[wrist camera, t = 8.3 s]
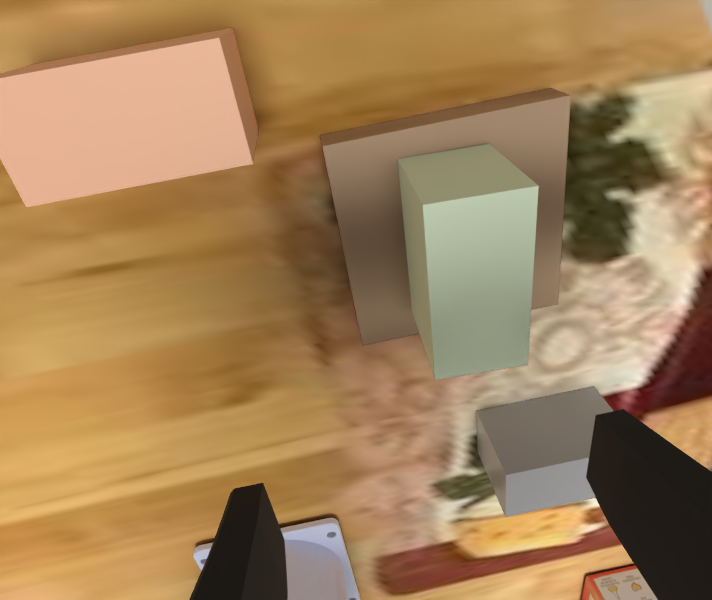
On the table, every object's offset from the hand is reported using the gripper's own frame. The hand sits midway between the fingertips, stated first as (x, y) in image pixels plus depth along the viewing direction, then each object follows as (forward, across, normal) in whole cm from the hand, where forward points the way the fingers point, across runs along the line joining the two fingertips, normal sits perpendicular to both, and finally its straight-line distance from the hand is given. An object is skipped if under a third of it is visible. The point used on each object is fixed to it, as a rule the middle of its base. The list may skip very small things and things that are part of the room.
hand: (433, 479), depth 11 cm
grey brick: (+10, -7, +11) cm, 17 cm away
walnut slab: (+11, -3, -1) cm, 11 cm away
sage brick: (+9, -3, -1) cm, 9 cm away
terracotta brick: (+10, +6, -7) cm, 14 cm away
